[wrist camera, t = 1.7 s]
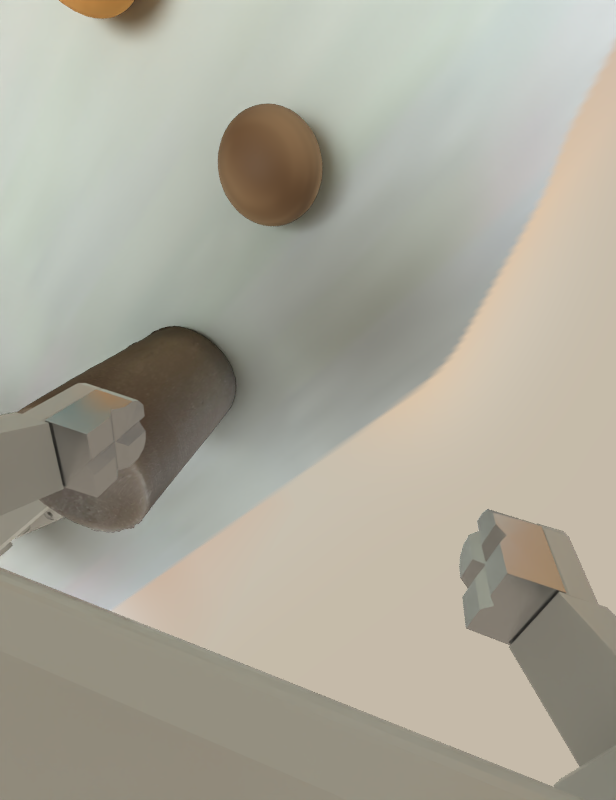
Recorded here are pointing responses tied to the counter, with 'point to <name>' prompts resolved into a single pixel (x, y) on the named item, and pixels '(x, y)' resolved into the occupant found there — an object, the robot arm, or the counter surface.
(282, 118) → the walnut ball
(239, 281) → the counter surface
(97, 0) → the orange ball
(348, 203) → the counter surface
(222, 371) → the pillar candle
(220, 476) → the counter surface
